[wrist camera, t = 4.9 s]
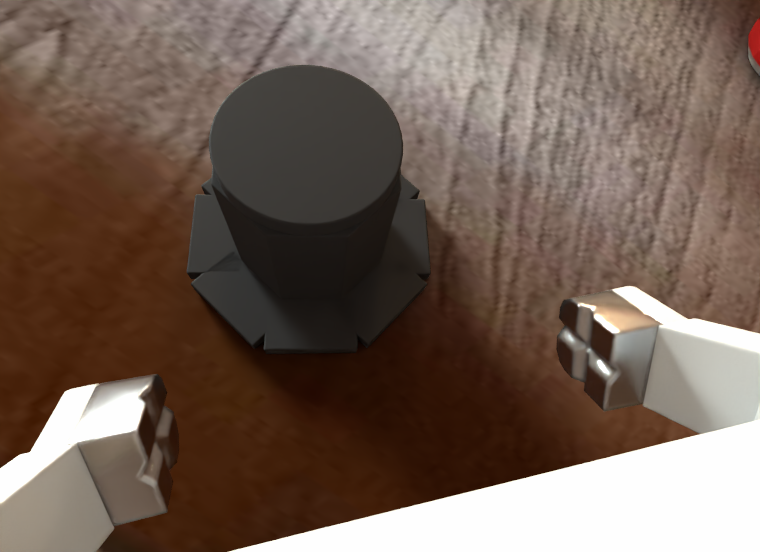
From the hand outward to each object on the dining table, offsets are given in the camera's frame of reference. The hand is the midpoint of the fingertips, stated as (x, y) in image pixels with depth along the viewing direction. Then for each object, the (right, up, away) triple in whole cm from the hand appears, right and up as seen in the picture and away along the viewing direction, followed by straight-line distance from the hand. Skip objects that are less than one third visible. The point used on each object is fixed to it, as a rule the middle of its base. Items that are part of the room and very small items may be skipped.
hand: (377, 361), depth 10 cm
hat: (-3, +3, +14) cm, 15 cm away
